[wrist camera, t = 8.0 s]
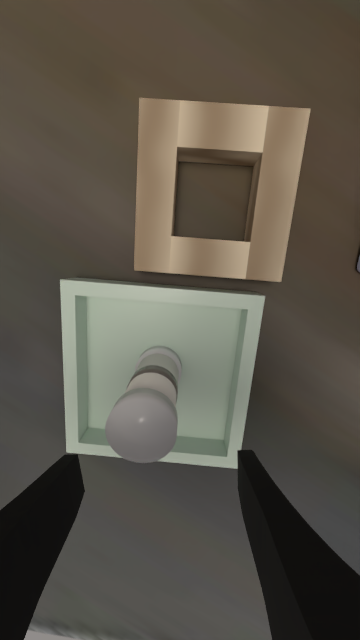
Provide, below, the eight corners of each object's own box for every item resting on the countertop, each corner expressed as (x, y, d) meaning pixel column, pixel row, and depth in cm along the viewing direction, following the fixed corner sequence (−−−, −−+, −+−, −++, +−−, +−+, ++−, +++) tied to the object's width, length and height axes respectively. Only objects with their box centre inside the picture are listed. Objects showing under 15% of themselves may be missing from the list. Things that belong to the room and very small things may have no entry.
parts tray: (255, 291, 19) (265, 296, 16) (232, 446, 22) (237, 468, 20) (76, 277, 19) (60, 279, 17) (80, 431, 22) (66, 452, 20)
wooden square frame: (294, 129, 16) (310, 108, 14) (270, 279, 19) (281, 281, 16) (146, 119, 17) (139, 97, 14) (140, 269, 19) (134, 270, 17)
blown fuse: (181, 345, 19) (176, 400, 12) (182, 386, 20) (177, 463, 13) (136, 345, 20) (101, 400, 12) (139, 386, 20) (108, 462, 13)
